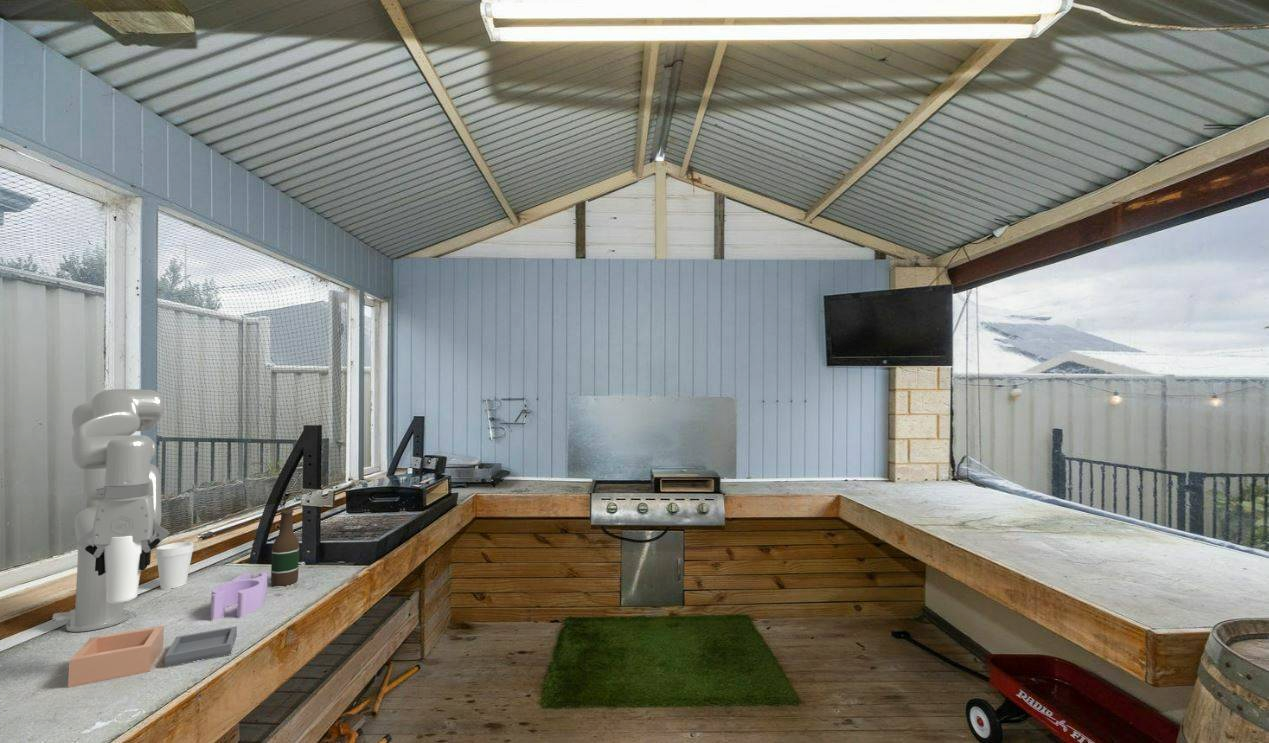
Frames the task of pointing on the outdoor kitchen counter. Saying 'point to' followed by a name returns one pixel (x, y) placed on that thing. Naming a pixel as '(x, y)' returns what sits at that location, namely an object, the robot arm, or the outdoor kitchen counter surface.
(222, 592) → the clip
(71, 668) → the terracotta holder
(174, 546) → the foam cup
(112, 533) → the robot arm
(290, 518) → the beer bottle
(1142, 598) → the outdoor kitchen counter surface
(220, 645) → the charcoal tray
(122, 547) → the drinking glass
